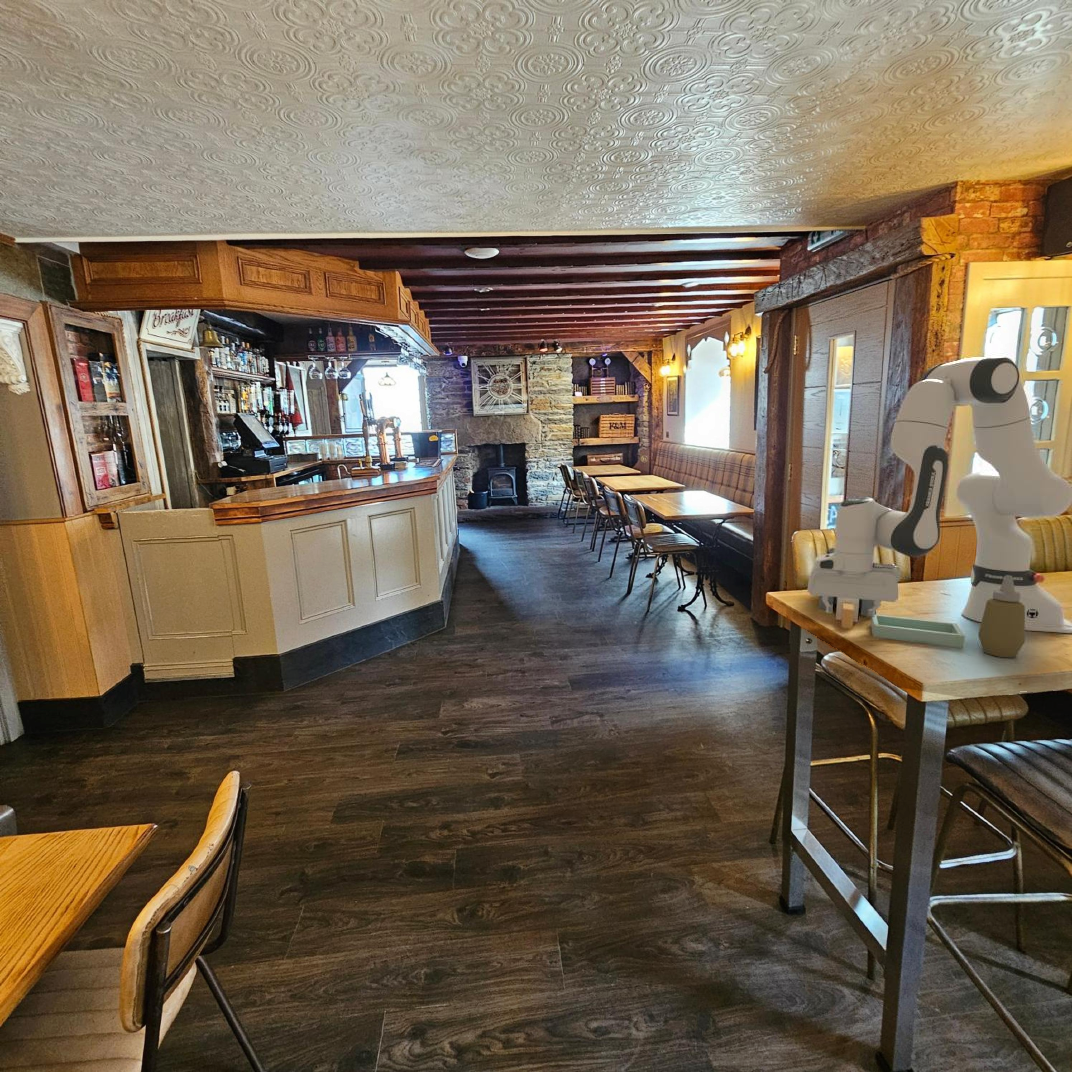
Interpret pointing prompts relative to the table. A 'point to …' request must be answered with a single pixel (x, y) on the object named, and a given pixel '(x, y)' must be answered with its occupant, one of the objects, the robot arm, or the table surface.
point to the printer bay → (863, 604)
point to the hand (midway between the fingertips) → (849, 614)
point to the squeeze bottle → (1003, 622)
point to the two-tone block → (847, 611)
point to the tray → (917, 630)
